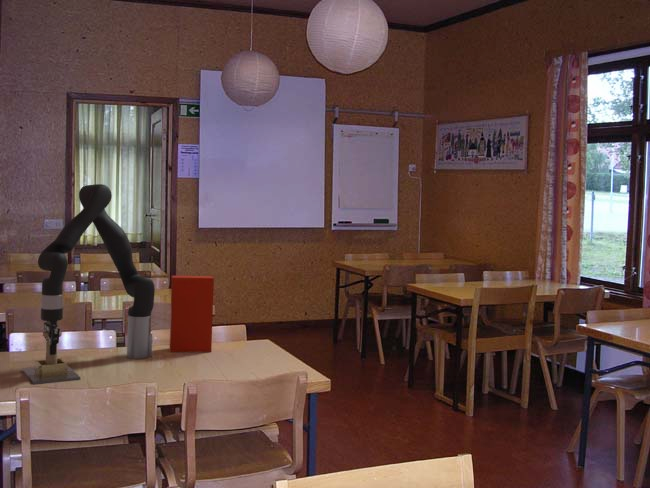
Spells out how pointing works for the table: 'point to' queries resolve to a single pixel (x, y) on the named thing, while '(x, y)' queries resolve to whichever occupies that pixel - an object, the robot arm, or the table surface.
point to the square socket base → (50, 372)
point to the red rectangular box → (191, 313)
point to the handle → (49, 358)
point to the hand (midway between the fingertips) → (51, 352)
